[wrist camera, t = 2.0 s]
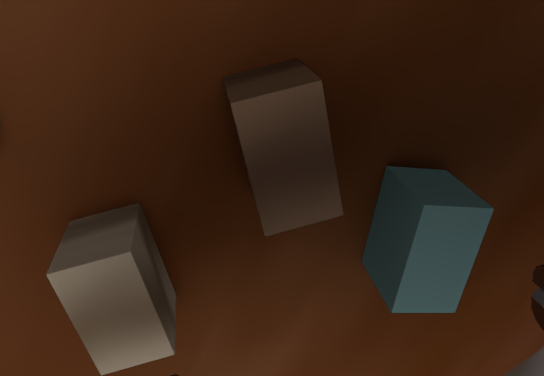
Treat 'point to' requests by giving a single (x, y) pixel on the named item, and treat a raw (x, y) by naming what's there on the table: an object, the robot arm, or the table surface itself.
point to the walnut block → (285, 144)
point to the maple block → (116, 288)
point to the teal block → (424, 239)
